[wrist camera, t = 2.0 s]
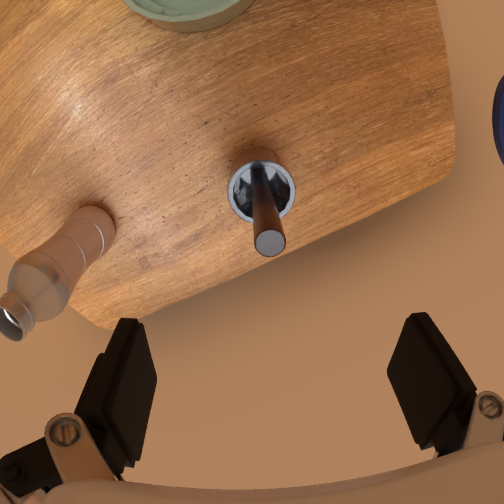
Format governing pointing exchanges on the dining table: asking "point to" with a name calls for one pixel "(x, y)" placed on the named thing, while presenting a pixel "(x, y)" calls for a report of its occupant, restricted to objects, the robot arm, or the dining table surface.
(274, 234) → the stirring stick
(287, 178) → the utensil pot
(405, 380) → the robot arm
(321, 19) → the dining table surface
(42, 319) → the plastic bottle
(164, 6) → the bowl
